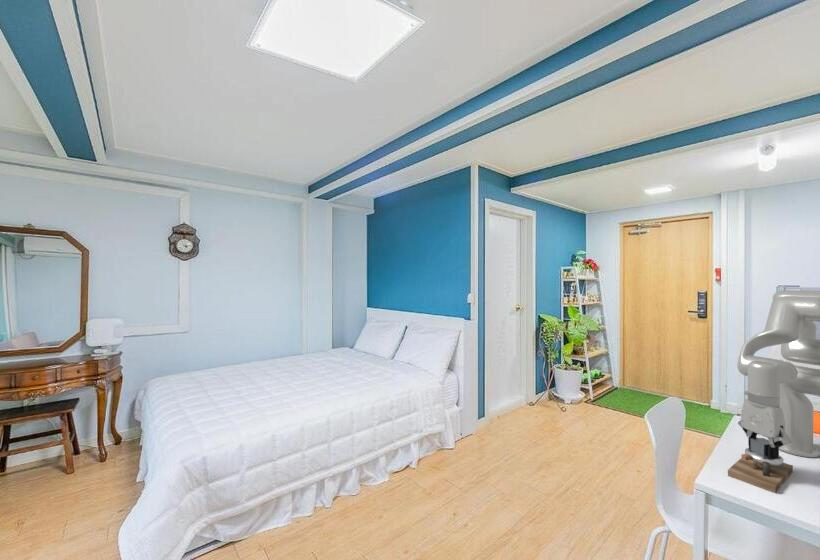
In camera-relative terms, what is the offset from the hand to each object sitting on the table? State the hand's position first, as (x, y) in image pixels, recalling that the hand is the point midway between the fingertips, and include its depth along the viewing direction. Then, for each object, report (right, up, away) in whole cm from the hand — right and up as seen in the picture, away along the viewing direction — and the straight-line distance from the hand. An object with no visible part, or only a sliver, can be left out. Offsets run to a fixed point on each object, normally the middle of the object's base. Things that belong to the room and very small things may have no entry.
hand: (763, 453), depth 116 cm
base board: (-1, -7, 0) cm, 7 cm away
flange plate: (-1, -2, 0) cm, 2 cm away
